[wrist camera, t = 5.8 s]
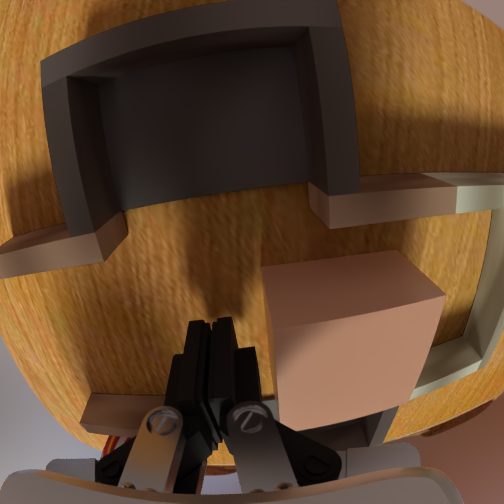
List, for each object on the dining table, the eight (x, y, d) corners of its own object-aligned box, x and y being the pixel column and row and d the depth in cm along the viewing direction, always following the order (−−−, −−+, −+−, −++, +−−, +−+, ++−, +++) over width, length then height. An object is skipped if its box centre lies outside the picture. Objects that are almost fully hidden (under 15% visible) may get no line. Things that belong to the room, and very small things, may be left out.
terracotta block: (394, 248, 12) (446, 294, 8) (378, 348, 14) (408, 402, 11) (260, 266, 12) (273, 328, 8) (270, 369, 14) (280, 433, 10)
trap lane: (498, 64, 8) (531, 63, 6) (444, 395, 17) (456, 416, 15) (-12, 118, 8) (-47, 124, 5) (134, 446, 17) (129, 472, 15)
